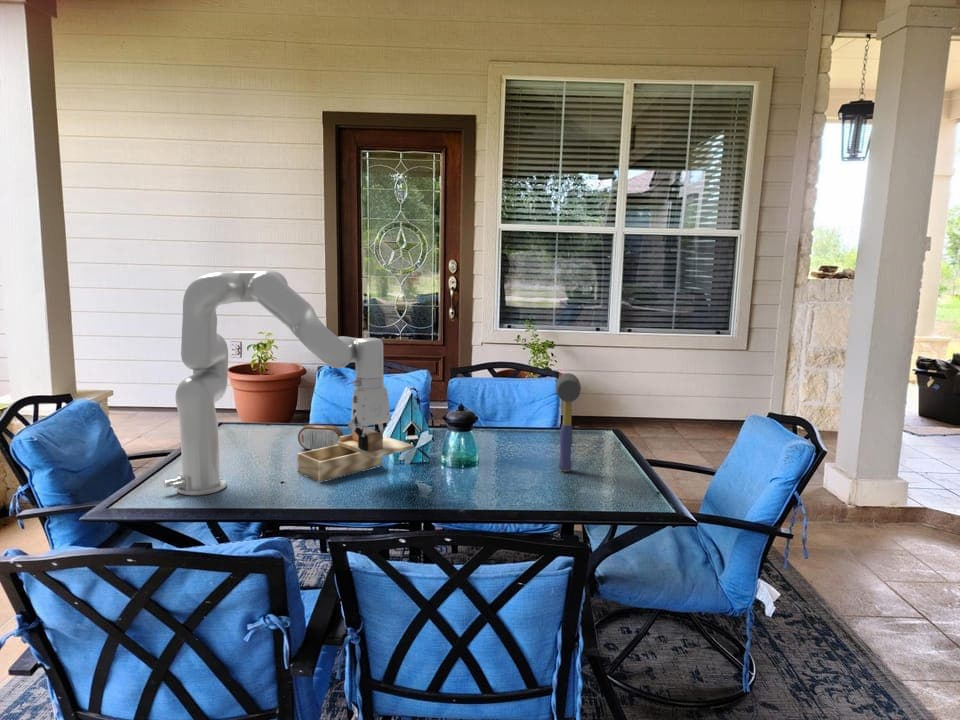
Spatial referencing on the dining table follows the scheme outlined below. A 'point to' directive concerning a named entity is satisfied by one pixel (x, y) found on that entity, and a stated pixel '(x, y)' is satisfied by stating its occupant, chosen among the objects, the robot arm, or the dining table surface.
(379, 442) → the lid
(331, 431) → the tin
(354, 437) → the peach boxy piece
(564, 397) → the rubber mallet
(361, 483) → the dining table surface
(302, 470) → the toolbox
